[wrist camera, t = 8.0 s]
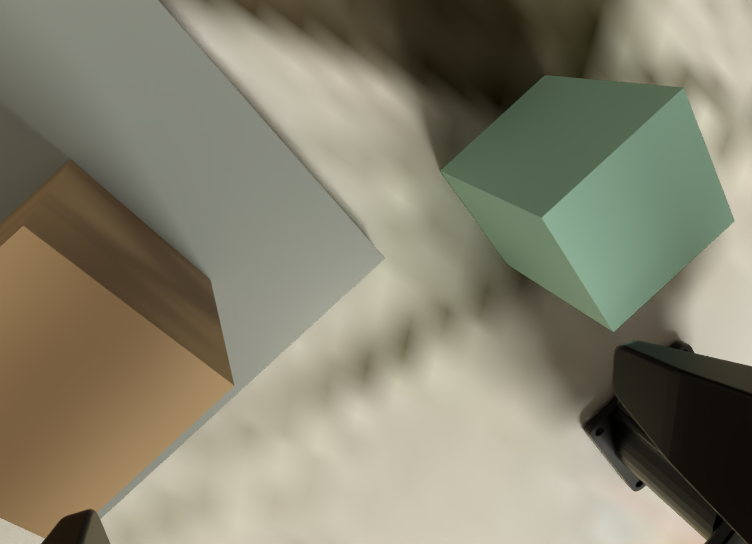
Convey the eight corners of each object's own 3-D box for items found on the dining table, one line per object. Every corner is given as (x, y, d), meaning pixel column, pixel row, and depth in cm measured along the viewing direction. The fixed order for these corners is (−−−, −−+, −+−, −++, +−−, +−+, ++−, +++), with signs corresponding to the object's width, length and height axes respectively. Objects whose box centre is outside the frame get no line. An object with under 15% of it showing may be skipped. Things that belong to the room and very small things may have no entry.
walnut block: (210, 280, 17) (234, 386, 12) (90, 391, 17) (60, 545, 12) (70, 158, 15) (23, 225, 9) (-72, 288, 15) (-197, 427, 9)
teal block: (598, 178, 22) (734, 220, 17) (506, 263, 22) (613, 332, 17) (544, 75, 20) (683, 87, 14) (439, 170, 20) (541, 218, 14)
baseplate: (375, 248, 20) (385, 258, 19) (81, 516, 20) (78, 539, 19) (91, -74, 14) (87, -82, 13) (-332, 309, 14) (-365, 328, 13)
